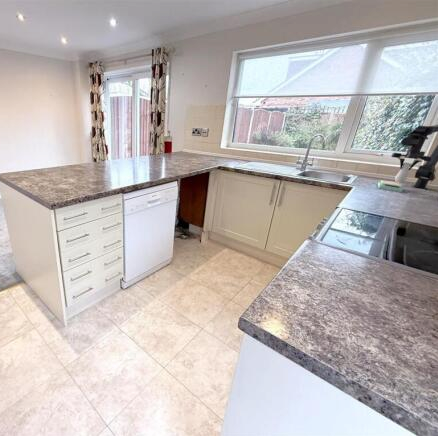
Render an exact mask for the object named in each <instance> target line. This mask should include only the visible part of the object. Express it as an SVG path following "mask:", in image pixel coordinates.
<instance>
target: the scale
mask: <svg viewBox="0 0 438 436" xmlns="http://www.w3.org/2000/svg"><path fill="white" fill-rule="evenodd" d="M401 186H402V184H401ZM377 187H378V189H381V190H388V191H391V192H399V193H403V192H404V187H403V186H402V187H399V186H393V185H387V184H385V185H384V184H382V183H381V180H380V181H379V180H378V182H377Z"/></svg>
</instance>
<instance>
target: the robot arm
mask: <svg viewBox="0 0 438 436" xmlns="http://www.w3.org/2000/svg"><path fill="white" fill-rule="evenodd" d="M433 133H438V124H435V125H418V126H417V127H415V128H414V130H412V131H411V132H410V133H409V134H408V135H407V136H405V137H404V138H402V139H401V142H400V143H401V145H402V146H403V147H408V149H407V151H406V153H405V154H403V153H401V152H392V153H391V155H390V157H391V158H397V159H398V160H399V162H400V163H399V170H401V169H402V167H403V163H405V159H413V161H412V163H411V164H412V165H411V167H409V170H408V171H410V170H411V169H412V168H414V167H415V166H416V165H417V164H418V163H422V162H425V163H424V164H422V165H420V166H418V169H416V171H415V174H414V178H415V179H417V180H416V182H415V183H414V184H413V185H412V186H413V188H417V189H423V190H427V189H428V188H427V185H428V184H429V182H434V180H435V179H436V175H435V173H436V165H437V163H438V144H437V145H436V146H435V148H434V150H433V151H432V153H431V154H430V155H425V154H426V151H423V150H422V148H423V146H424V144H425V142H426V140H429V137H428V136H431V135H433Z"/></svg>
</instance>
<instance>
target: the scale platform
mask: <svg viewBox="0 0 438 436" xmlns="http://www.w3.org/2000/svg"><path fill="white" fill-rule="evenodd" d="M380 182H381V183H382V184H384V185H385V184H387V185H393V186H399V187H403V186H401V185H402V184H401V182H396V181H390V180H383V179H381V180H380Z"/></svg>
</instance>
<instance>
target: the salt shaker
mask: <svg viewBox="0 0 438 436" xmlns="http://www.w3.org/2000/svg"><path fill="white" fill-rule="evenodd" d="M411 165H412V163H410V162H404V163H403V166H402V168H401V169H399V171H398V173H397V174H396V176H395V177H394V182H397V183H405V181H407V179H408V174H409V171H410V170H409V168H410V167H411Z"/></svg>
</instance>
